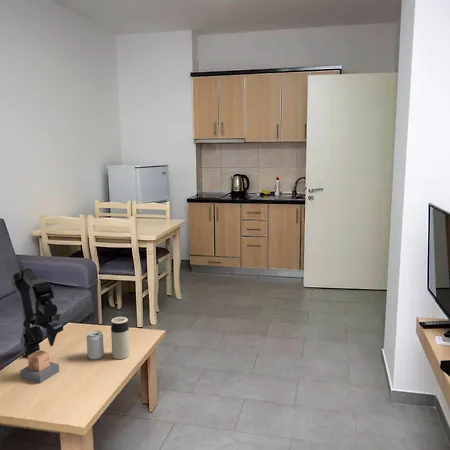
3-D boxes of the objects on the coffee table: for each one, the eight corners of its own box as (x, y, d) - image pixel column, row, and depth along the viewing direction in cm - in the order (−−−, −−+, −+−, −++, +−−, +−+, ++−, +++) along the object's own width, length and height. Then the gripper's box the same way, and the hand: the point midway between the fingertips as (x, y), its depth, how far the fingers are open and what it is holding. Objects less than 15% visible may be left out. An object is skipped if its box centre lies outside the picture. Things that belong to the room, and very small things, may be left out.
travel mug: (128, 359, 214) (127, 322, 211) (111, 359, 213) (109, 323, 210) (130, 351, 222) (129, 316, 219) (113, 352, 221) (112, 316, 218)
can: (99, 361, 212) (98, 336, 210) (84, 359, 214) (83, 335, 212) (106, 353, 219) (105, 330, 217) (92, 352, 221) (91, 328, 219)
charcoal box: (20, 379, 197) (20, 370, 196) (40, 367, 207) (39, 359, 206) (40, 384, 193) (39, 375, 192) (59, 372, 203) (58, 364, 202)
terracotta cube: (28, 368, 197) (27, 355, 196) (39, 362, 203) (38, 350, 202) (39, 371, 195) (38, 358, 194) (49, 365, 201) (48, 352, 200)
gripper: (71, 308, 203) (73, 341, 206) (41, 300, 212) (43, 332, 214) (52, 316, 193) (54, 351, 196) (21, 308, 202) (23, 341, 205)
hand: (44, 343), depth 203 cm, fingers open, 9 cm apart
